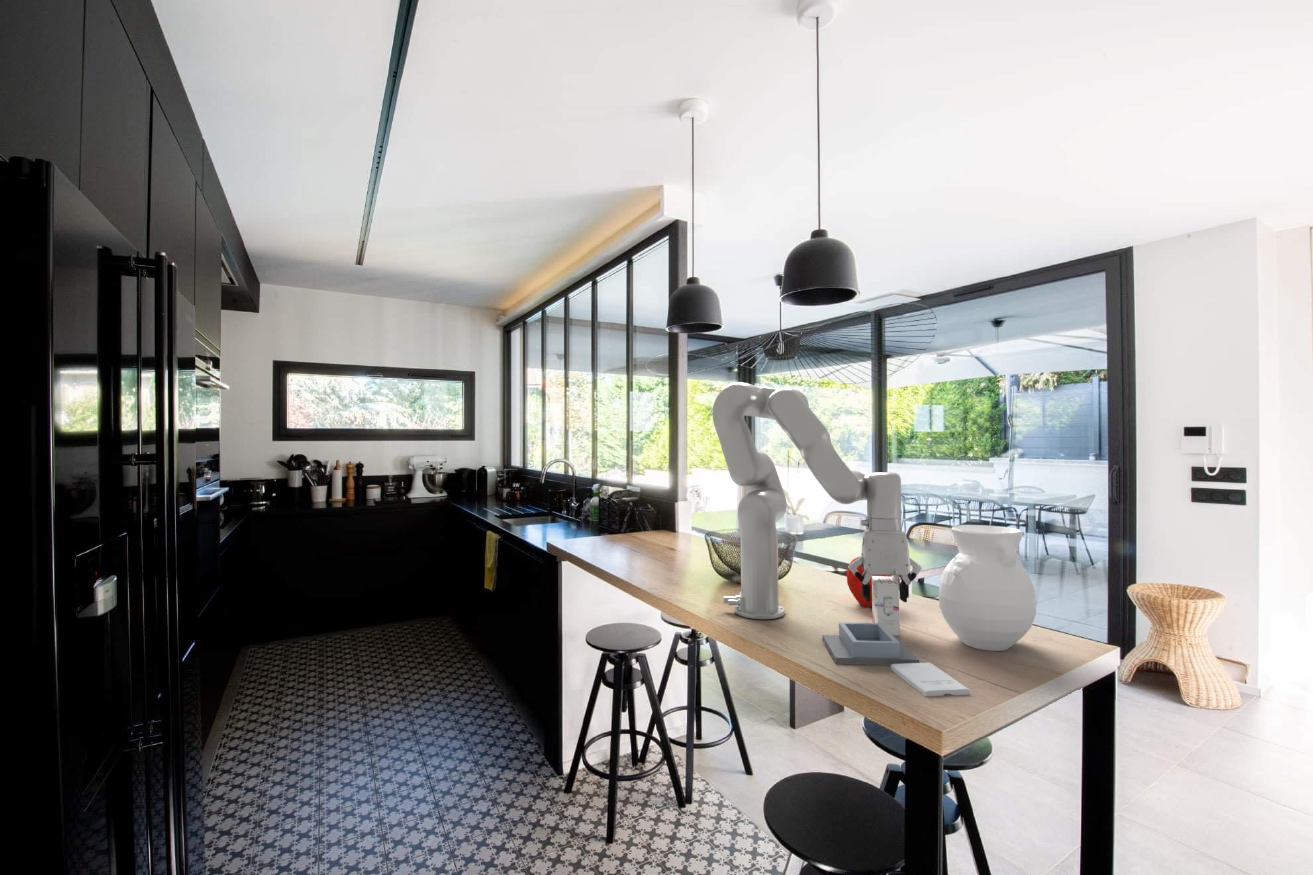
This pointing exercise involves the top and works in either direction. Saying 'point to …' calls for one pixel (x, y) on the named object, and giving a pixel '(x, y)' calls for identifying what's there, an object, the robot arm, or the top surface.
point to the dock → (867, 645)
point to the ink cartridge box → (886, 602)
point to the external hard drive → (929, 679)
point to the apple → (859, 585)
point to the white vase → (987, 588)
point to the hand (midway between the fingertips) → (885, 600)
